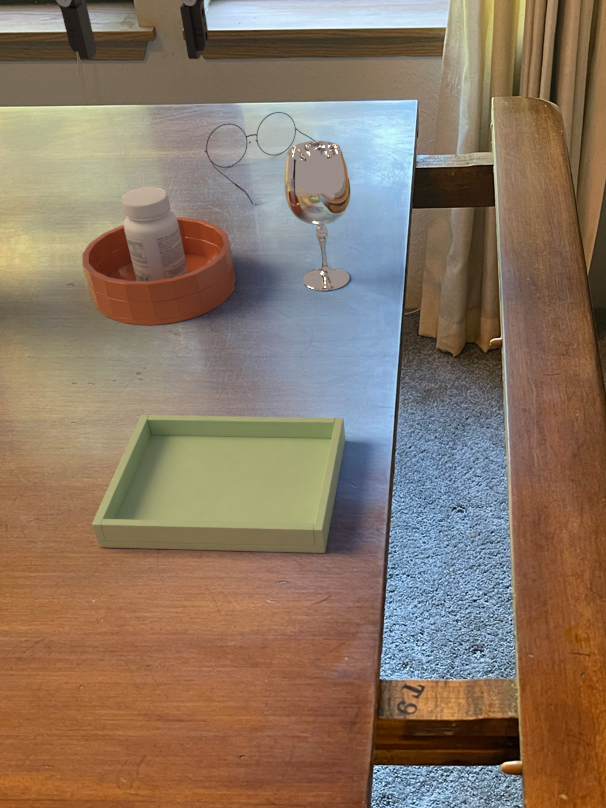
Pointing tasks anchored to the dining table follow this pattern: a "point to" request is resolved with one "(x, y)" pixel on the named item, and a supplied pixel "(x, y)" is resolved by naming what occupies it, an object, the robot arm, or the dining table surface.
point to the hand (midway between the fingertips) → (142, 56)
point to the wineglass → (318, 200)
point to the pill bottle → (153, 235)
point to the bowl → (164, 297)
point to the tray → (224, 484)
